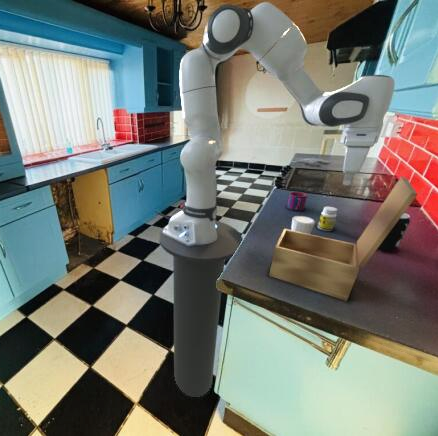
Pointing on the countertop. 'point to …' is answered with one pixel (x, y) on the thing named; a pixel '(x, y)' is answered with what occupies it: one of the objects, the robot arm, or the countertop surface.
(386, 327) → the countertop surface
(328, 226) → the supplement bottle
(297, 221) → the white fluted cylinder
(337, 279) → the chest
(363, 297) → the countertop surface
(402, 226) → the beverage can
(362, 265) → the chest lid
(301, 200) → the mug
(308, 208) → the countertop surface
